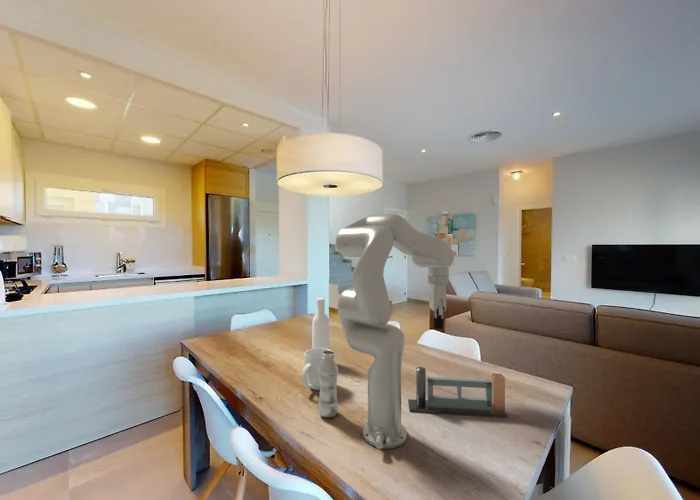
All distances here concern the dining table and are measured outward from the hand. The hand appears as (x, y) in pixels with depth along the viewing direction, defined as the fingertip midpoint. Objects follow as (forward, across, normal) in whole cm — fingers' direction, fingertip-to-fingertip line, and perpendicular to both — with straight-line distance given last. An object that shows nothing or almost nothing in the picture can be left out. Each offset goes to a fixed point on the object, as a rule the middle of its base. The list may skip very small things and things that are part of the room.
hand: (438, 328), depth 112 cm
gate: (+21, +14, +4) cm, 26 cm away
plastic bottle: (+23, +22, -38) cm, 50 cm away
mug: (+23, +4, -46) cm, 52 cm away
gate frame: (+23, +14, +3) cm, 27 cm away
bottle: (+23, -20, -50) cm, 59 cm away
